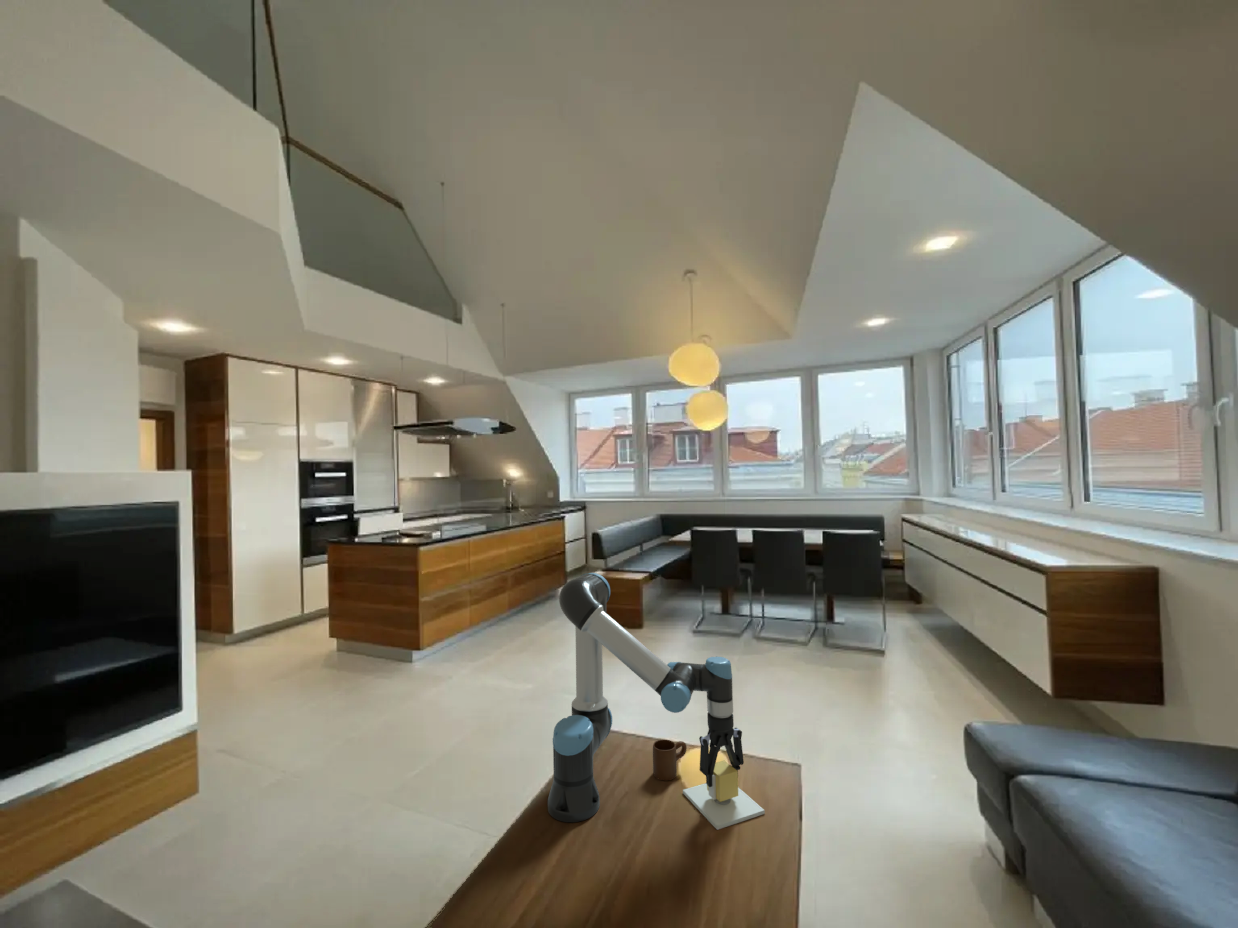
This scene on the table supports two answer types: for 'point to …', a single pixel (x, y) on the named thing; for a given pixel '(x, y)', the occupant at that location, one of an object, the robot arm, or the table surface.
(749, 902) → the table surface
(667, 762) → the mug
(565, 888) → the table surface
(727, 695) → the robot arm
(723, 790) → the pale yellow cube
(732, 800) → the white square plate
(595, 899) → the table surface
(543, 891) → the table surface
